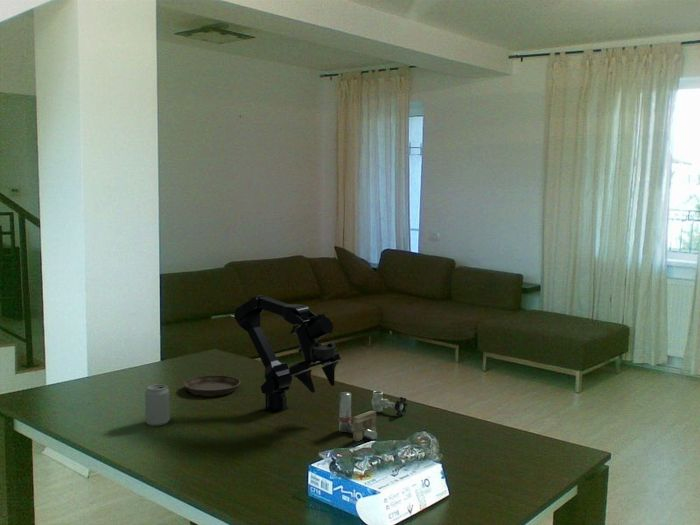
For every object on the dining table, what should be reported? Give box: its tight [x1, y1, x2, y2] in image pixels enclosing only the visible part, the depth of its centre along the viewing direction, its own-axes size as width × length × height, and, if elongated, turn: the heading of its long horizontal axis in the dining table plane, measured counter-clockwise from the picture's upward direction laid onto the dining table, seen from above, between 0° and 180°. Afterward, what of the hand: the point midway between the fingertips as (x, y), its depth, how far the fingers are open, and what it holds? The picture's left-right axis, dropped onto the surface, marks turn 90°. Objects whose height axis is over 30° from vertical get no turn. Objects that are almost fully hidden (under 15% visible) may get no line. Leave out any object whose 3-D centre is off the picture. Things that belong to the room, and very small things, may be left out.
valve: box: [371, 390, 408, 418], centre depth 227 cm, size 7×7×12 cm
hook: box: [337, 391, 379, 440], centre depth 206 cm, size 14×4×12 cm, turn 49°
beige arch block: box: [352, 409, 377, 442], centre depth 204 cm, size 2×8×7 cm, turn 139°
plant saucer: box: [183, 374, 241, 397], centre depth 252 cm, size 21×21×3 cm
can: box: [144, 383, 171, 427], centre depth 216 cm, size 8×8×12 cm
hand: (323, 389), depth 216 cm, fingers open, 9 cm apart
